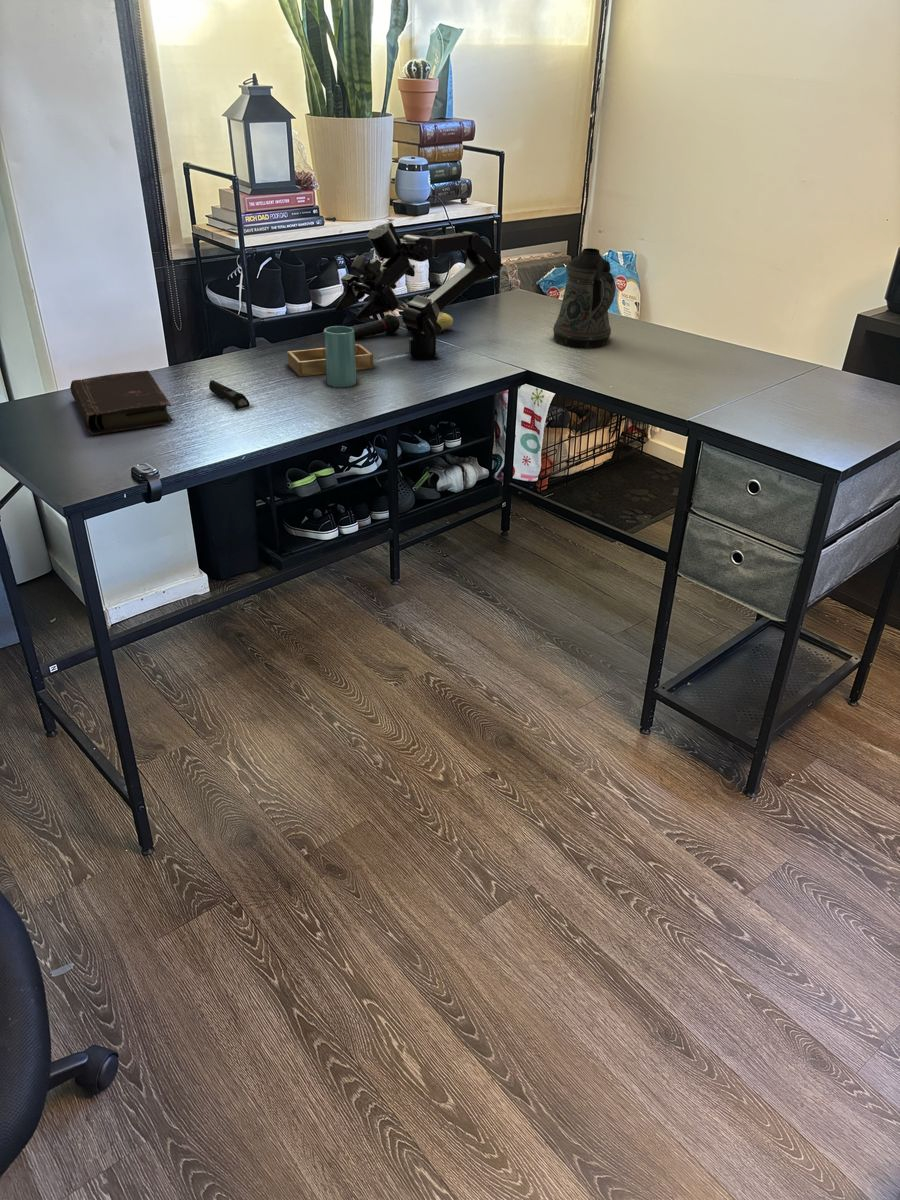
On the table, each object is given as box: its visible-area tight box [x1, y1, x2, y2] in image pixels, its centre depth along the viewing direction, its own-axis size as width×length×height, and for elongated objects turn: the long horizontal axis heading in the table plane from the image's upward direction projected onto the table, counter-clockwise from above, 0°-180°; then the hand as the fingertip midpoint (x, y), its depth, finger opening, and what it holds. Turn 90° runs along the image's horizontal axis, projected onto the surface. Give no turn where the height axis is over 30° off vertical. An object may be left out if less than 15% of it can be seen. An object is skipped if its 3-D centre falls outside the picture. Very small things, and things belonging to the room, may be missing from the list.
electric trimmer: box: [208, 379, 251, 410], centre depth 207 cm, size 4×16×3 cm, turn 39°
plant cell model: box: [403, 311, 454, 332], centre depth 260 cm, size 11×8×15 cm
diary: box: [69, 370, 174, 436], centre depth 198 cm, size 19×25×5 cm
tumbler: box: [323, 325, 357, 388], centre depth 217 cm, size 7×7×13 cm
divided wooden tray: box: [287, 343, 374, 377], centre depth 230 cm, size 20×10×4 cm, turn 114°
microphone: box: [354, 313, 401, 340], centre depth 255 cm, size 6×6×20 cm
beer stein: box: [552, 247, 617, 349], centre depth 249 cm, size 16×19×25 cm
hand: (346, 314), depth 220 cm, fingers open, 9 cm apart
